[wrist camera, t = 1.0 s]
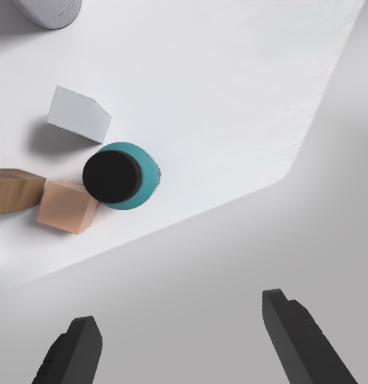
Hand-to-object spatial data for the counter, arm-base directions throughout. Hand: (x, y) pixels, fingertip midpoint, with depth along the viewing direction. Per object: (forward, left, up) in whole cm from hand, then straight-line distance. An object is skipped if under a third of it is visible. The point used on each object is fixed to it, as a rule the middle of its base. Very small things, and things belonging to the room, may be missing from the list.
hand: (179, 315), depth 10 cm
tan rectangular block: (-21, -9, -26) cm, 34 cm away
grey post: (-18, +5, -26) cm, 32 cm away
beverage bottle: (-7, +3, -26) cm, 27 cm away
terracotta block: (-13, -7, -26) cm, 30 cm away
